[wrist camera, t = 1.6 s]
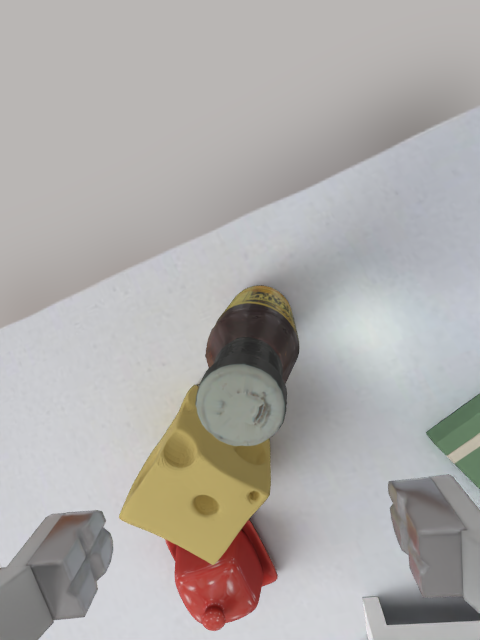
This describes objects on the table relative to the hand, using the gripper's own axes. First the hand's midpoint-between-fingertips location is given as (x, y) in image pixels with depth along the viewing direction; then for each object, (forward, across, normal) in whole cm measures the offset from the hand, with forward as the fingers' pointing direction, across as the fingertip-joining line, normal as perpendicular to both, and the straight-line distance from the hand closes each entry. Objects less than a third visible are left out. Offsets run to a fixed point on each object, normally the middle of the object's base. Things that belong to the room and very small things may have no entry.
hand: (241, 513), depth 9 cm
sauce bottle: (+25, 0, 0) cm, 25 cm away
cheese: (+25, +8, +14) cm, 30 cm away
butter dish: (+25, +10, +30) cm, 40 cm away
